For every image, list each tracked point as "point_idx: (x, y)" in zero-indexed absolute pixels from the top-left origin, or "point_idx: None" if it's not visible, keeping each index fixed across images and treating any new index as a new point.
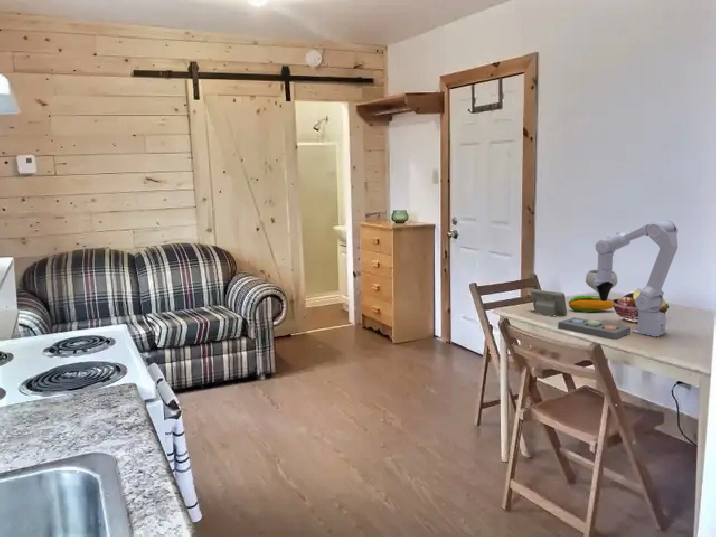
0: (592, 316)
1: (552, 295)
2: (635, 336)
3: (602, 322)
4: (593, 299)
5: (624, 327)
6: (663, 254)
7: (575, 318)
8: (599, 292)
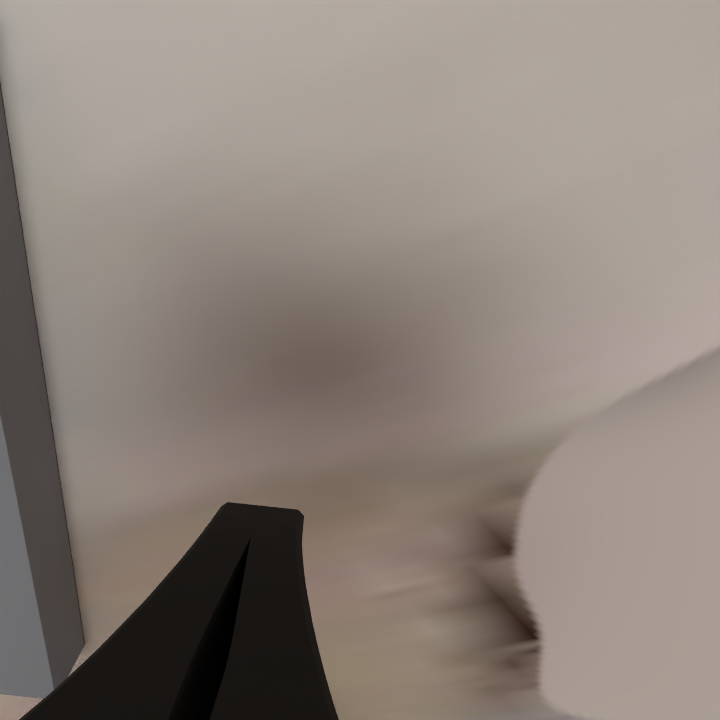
0: (590, 76)
1: None
2: None
3: (2, 470)
4: None
5: (7, 670)
6: None
7: None
8: (92, 674)
